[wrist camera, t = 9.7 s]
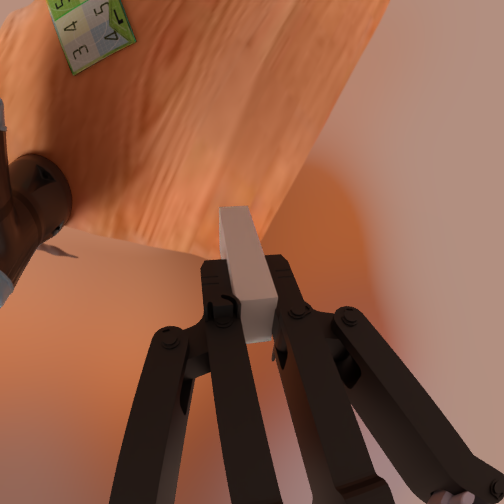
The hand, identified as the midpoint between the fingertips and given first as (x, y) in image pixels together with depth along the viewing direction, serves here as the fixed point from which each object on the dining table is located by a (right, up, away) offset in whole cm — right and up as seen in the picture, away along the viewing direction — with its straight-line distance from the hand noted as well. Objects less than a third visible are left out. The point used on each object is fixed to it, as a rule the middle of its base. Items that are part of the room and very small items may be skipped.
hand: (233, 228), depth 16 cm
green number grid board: (-22, +33, +9) cm, 40 cm away
